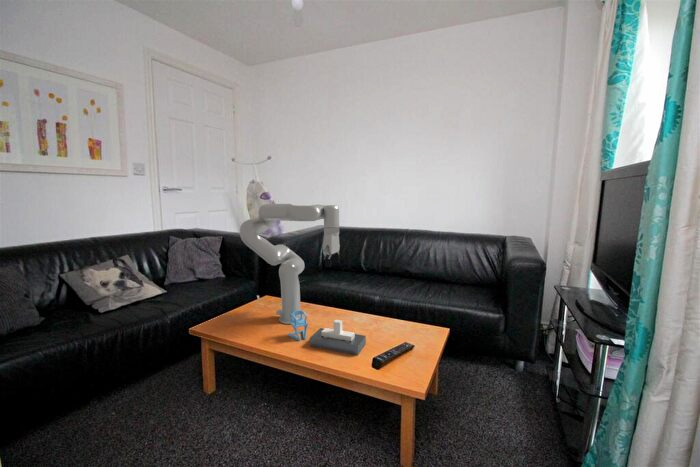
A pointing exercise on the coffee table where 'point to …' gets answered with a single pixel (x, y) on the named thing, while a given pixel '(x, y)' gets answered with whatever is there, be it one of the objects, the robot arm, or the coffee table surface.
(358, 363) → the coffee table surface
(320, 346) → the slotted plate
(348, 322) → the coffee table surface
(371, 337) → the coffee table surface
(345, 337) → the white stepped block
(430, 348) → the coffee table surface
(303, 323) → the chair
